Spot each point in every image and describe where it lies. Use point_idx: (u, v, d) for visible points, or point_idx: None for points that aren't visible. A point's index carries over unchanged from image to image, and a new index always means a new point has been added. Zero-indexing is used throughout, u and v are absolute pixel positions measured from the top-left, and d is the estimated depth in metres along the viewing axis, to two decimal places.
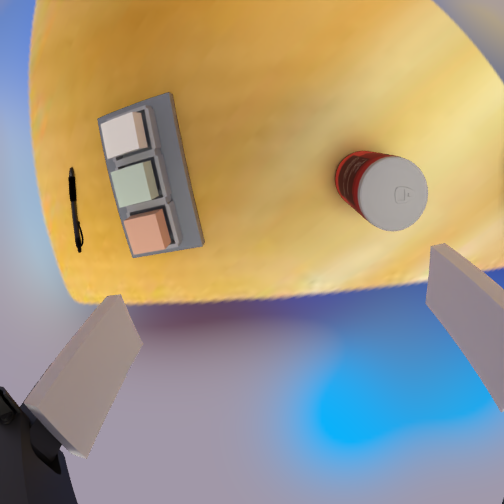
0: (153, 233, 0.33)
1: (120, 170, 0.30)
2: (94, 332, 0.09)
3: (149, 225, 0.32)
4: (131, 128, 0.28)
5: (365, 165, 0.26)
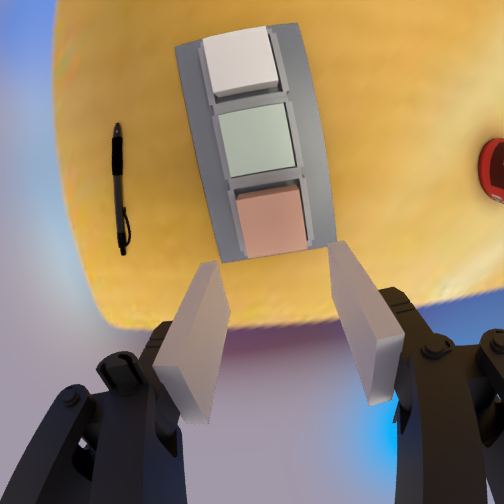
0: (291, 222, 0.20)
1: (239, 112, 0.18)
2: (206, 292, 0.10)
3: (286, 208, 0.20)
4: (264, 49, 0.16)
5: None
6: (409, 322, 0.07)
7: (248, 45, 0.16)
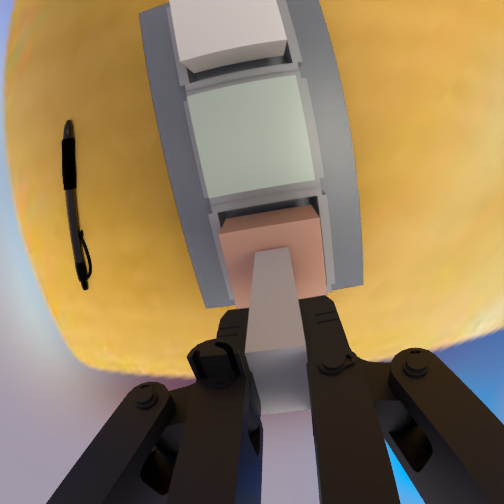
0: (305, 268, 0.13)
1: (221, 91, 0.10)
2: None
3: (297, 246, 0.13)
4: None
5: None
6: (327, 333, 0.08)
7: None
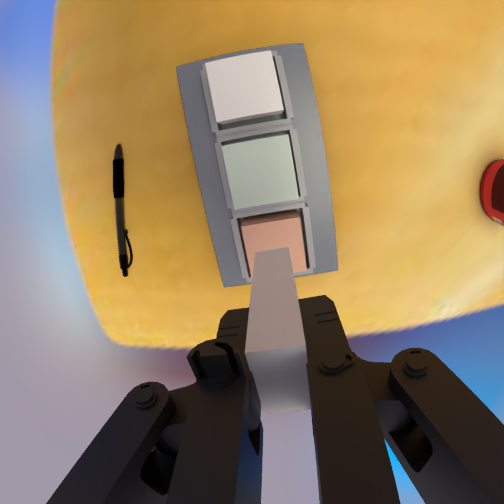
0: (292, 247, 0.22)
1: (243, 144, 0.18)
2: None
3: (287, 234, 0.22)
4: (269, 76, 0.16)
5: None
6: (327, 333, 0.08)
7: (253, 71, 0.16)
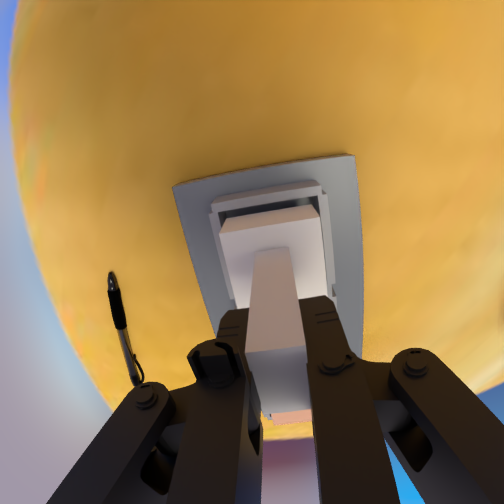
0: None
1: None
2: None
3: None
4: (313, 260, 0.13)
5: None
6: (327, 332, 0.08)
7: (291, 253, 0.13)
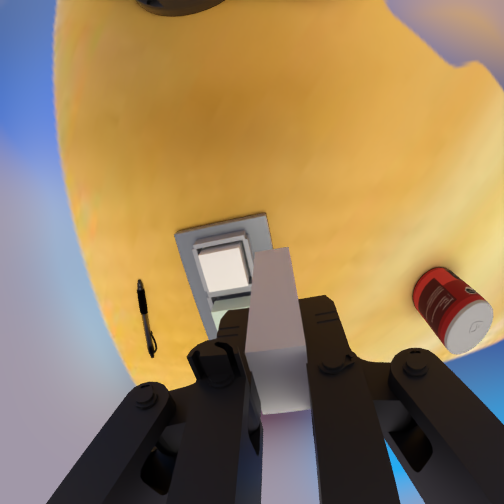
0: None
1: (223, 311, 0.31)
2: None
3: None
4: (238, 265, 0.31)
5: (453, 307, 0.26)
6: (327, 333, 0.08)
7: (228, 263, 0.30)
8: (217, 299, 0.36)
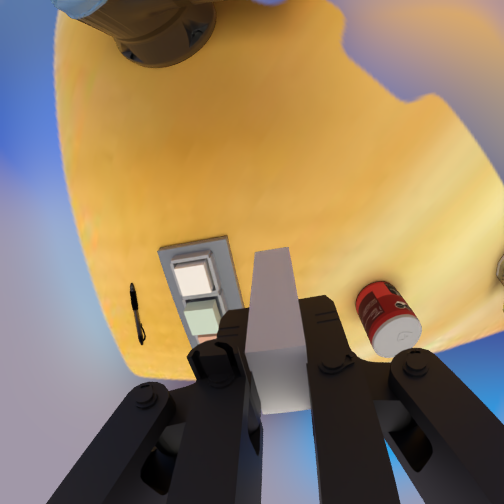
0: None
1: (192, 311, 0.40)
2: None
3: None
4: (203, 277, 0.40)
5: (380, 319, 0.36)
6: (327, 333, 0.08)
7: (196, 275, 0.40)
8: (191, 300, 0.45)
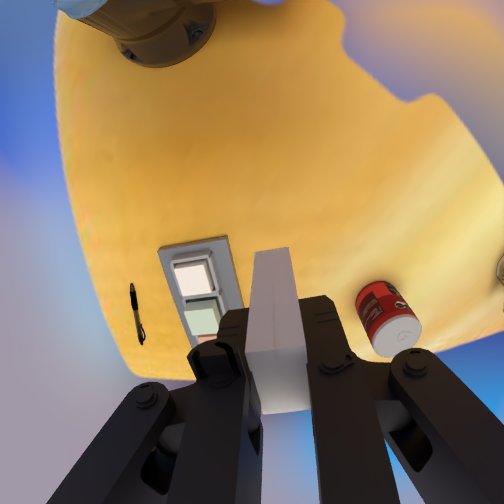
0: None
1: (192, 311, 0.40)
2: None
3: None
4: (203, 277, 0.40)
5: (380, 319, 0.36)
6: (327, 333, 0.08)
7: (196, 275, 0.40)
8: (191, 300, 0.45)
